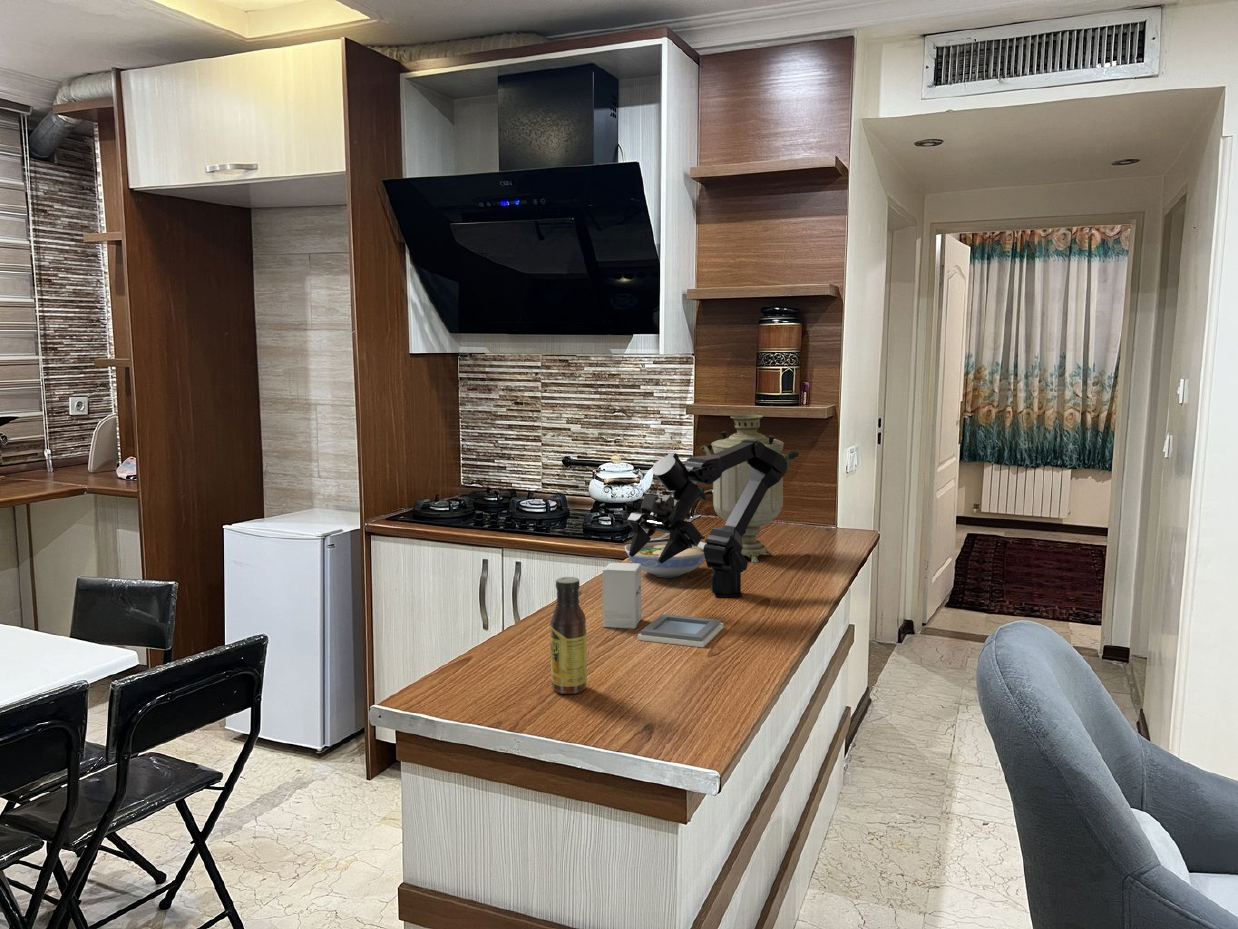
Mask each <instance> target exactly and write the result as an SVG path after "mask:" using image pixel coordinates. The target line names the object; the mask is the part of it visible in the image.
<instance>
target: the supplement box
mask: <svg viewBox="0 0 1238 929" xmlns="http://www.w3.org/2000/svg"><path fill="white" fill-rule="evenodd" d="M641 620H642V569H641V564H638V563H633V562H631V563H629V562H609V563H608V564H607V565H606V566H605V567H604V569H602V627H603V628H615V629H617V628H619V629H633V630H634V629H637V626H638V624H639V622H640V621H641Z"/></svg>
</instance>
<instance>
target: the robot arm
mask: <svg viewBox="0 0 1238 929" xmlns="http://www.w3.org/2000/svg"><path fill="white" fill-rule="evenodd" d="M781 454H782V453H780V454H779V453H777V452H776V451H774V450H772V449H770V448H768V447H766V446H765V445H764V444H763V443H762V442H760V441H757V440H744V441H742V442H741V443H739V444H737V445H734V446H732V447H730V448H727V449H725V450H723V451H720V452H718V453H716V454H715V453H713V454H711V455H708V456H706V455H697V456H691V457H689V458H687V459H686V460H685V462H684V463H683V461H682V460H681V459H680V458H679V455H678V454H677V453H675V452H668V454H667V455H665V456H664V457H661V458H660V459H659V460H658V461H656V462H655V463H654V464H653V466H652V469H651V470H652V474H653V475H654V476H655V477H656V479H657V480H658V481H659V482H660V483H661V484H662V486H663V487H664V489H666V490H667V491H671V493H670V494H669V495H667V494H665V495H663V497H661V496H660V497H659V496H657V495H650V494H644V496H643V499H642V502H641V505H640V509H641V510H645V511H647V512H650V514H649V515H650V517H652V519H654V520H651V518H650V517H649V516H648V514H646V513H642V512H636V511H633V512H631V513H630V515H629V516H628V518H627V523H628V524H629V526H630V527H631V528H632V539H631V542H632V543H631V547H630V552H629V555H630V556H631V557H633V556H634V555H636V554H637V553H638V552H639V551H640V550H641V549H642V548H643V547H644V546H645V545H646V544H647V543H648V542H649V541H650V540H651V539H652V538H651V537H652V536H653V535H654V534H655V533H656V531H657V532H661V533H666V534H669V541H668V542H667V544H666V546H665V548H664V550H663V551H662V553H661V555H660V557H659V559H658V562H659V563H660V564H662V563H664V562H665V561H667V560H668V559H670V558H672V557H673V556H675V555H677V554H678V553H680V552H682V551H684V550H686V549H688V548H692V546H698V544H699V543H700V542H702V539H701V535H702V533H701V532H700V531H699V529H698V528H697V527H696V526H695V524H693V522H692V521H687V520H690V519H691V517H692V514H690V511H691V510H692V509H693V507H694V505H695V504H696V502H697V501H699V500H700V501H706V499H707V497H706V494H705V488H703V487H700V486H699V485H698V484H704V485H711V484H712V485H713V482H715V481H716V480H717V479H719V478H720V477H721V475H722V473H723V472H724V471H725V470H727V469H729V468H732V467H734V466H736V465H738V464H741V463H743V462H745V461H746V463H747V464H749V465H750V468H749V474H750V480H749V482H748V484H747V486H746V488H745V489H744V491H743V493H742V495H741V497H740V498H739V500H738V502H737V504H736V505H735V507H734V509H733V511H732V513H731V514H730V516H729V518H728V520H727V522H726V521H725V523H724V525H723V526H722V527H721V528H717V527H713V528H712V529H711V530H710V531H709V532H710V533H709V535H708V537H706V538H705V539H704V543H705V545H704V548H703V551H704V556H705V562H706V566H707V568H711V569H712V573H711V574H710V591H711V593H712V594H713V595H714V597H715V598H729V597H730V598H735V597H739V598H740V597H743V593H742V591H741V590H742V589H741V588H742V584H741V583H742V577H741V576H742V573H744V571H747V569H748V564H749V561H748V559H747V558H746V557H745V555H742V553H741V551H742V549H743V544H742V536H743V534H744V532H745V530H746V528H747V526H748V525H749V523H750V521H751V519H752V517H753V515H754V514H755V512H756V510H757V508H758V506H759V504H760V503H761V501H762V499H763V497H764V495H765V493H766V492H767V490H768V489H769V488H770V487H772V486H773V485H775V484H776V483H778V482H779V481H780V480H781V478H782V477H783V478H784V475H785V474H786V472H787V471H788V470H787V461H786V459H785V457H784V456H783V455H781Z"/></svg>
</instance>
